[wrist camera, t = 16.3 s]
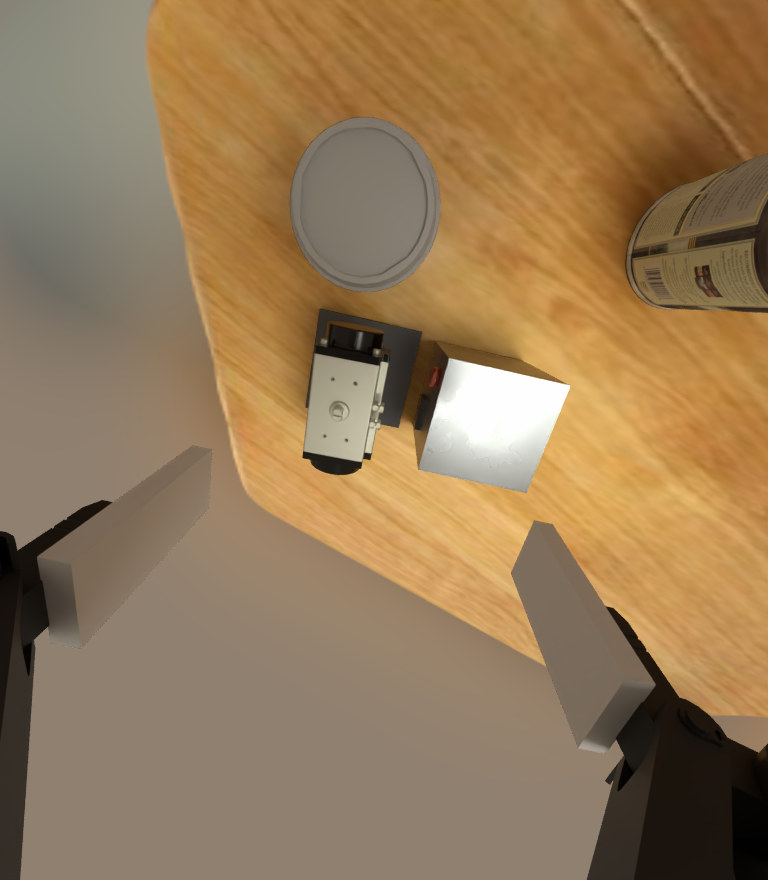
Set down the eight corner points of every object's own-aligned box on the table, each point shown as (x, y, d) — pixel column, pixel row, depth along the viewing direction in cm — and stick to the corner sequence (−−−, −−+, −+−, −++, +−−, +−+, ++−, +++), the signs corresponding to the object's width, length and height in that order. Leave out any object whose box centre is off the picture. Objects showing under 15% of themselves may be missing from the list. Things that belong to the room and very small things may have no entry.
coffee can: (776, 216, 32) (1040, 161, 19) (689, 328, 35) (861, 348, 22) (680, 154, 31) (892, 48, 17) (600, 277, 34) (727, 266, 21)
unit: (429, 339, 37) (441, 356, 26) (525, 361, 37) (574, 386, 27) (407, 423, 40) (410, 468, 30) (496, 443, 40) (530, 493, 30)
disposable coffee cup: (364, 145, 31) (345, 62, 20) (450, 225, 33) (476, 190, 22) (301, 246, 34) (254, 222, 23) (383, 314, 36) (376, 323, 25)
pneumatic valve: (325, 428, 40) (296, 480, 29) (340, 315, 35) (314, 324, 24) (376, 438, 40) (367, 493, 29) (397, 326, 36) (397, 341, 24)
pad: (321, 308, 36) (319, 308, 35) (421, 331, 36) (421, 332, 36) (306, 406, 40) (305, 407, 39) (398, 426, 40) (398, 427, 39)
